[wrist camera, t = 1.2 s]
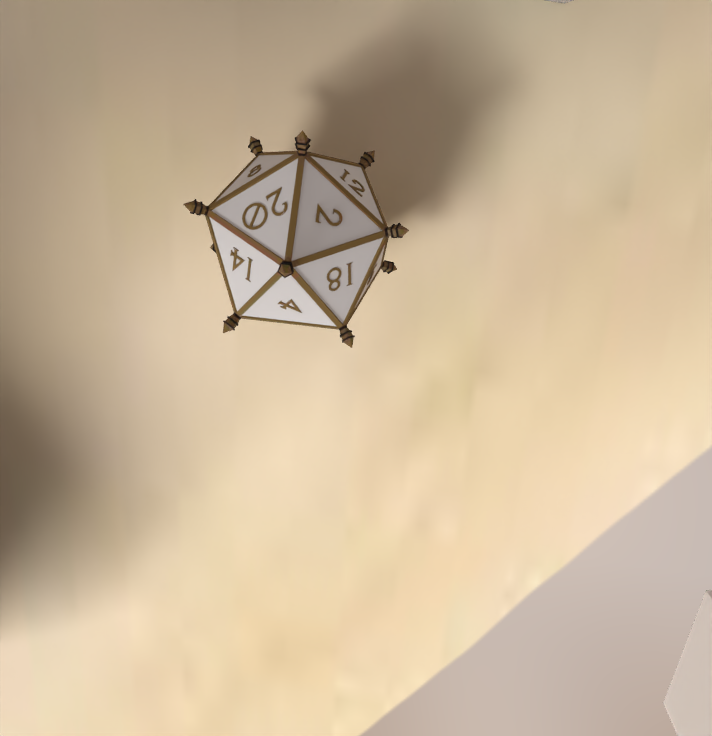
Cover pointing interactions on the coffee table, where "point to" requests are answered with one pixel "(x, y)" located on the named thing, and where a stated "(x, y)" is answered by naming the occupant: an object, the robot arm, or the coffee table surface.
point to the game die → (298, 238)
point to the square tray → (560, 1)
